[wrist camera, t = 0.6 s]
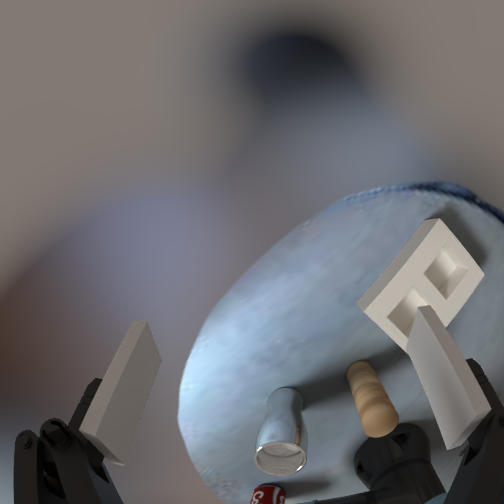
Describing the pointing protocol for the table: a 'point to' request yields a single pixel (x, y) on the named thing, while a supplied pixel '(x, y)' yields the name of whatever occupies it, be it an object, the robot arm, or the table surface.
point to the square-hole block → (422, 281)
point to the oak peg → (371, 400)
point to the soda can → (268, 495)
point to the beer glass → (282, 435)
